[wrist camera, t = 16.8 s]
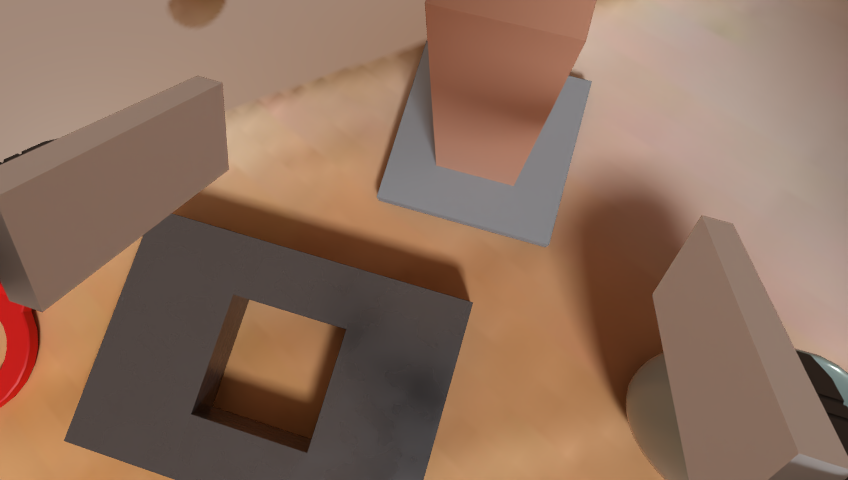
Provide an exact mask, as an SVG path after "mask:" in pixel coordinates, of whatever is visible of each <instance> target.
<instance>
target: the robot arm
mask: <svg viewBox="0 0 848 480" xmlns="http://www.w3.org/2000/svg"><path fill="white" fill-rule="evenodd" d="M223 98H224V97H223V84H222V82H218V81H214V80H211V79H207V78H204V77H200V76H196V77H193V78H191V79H189V80H187V81H185V82H183V83H180V84H178V85H176V86H174V87H171V88H169V89H167V90H165V91H162V92H160V93H158V94H156V95H154V96H151V97H149V98H147V99H145V100H143V101H140V102H138V103H136V104H134V105H131V106H129V107H127V108H125V109H123V110H121V111H118V112H116V113H114V114H112V115H109V116H107V117H105V118H103V119H101V120H98V121H96V122H94V123H92V124H90V125H87V126H85V127H83V128H81V129H79V130H76V131H74V132H72V133H70V134H67V135H65V136H63V137H61V138H58V139H55V140H50V141H45V142H42V143H40V144H38V145H36V146H33V147H31V148H29V149H27V150H24V151H22V154H21V155H20V154H15V155H13V156H11V157H9V158H6V159H4V162H3V163H1V162H0V282H1V284H2V286H3V288H4V290H5V293H6V295H7V297H8V299H9V301H11V302H14V303H17V304H20V305H23V306H26V307H29V308H32V309H35V310H37V311H40V312H43V311H45V310H46V309H47V308H49V307H50V306H51V305H52V304H54V303H55V302H56V301H58V300H59V299H60V298H62V297H63V296H64V295H66V294H67V293H68V292H69V291H71V290H72V289H73V288H75V287H76V286H77V285H79V284H80V283H81V282H83V281H84V280H85V279H86V278H88V277H89V276H90V275H92V274H93V273H94V272H96V271H97V270H98V269H99V268H101V267H102V266H103V265H105V264H106V263H107V262H109V261H110V260H111V259H113V258H114V257H115V256H116V255H118V254H119V253H120V252H122V251H123V250H124V249H126V248H127V247H128V246H130V245H131V244H132V243H133V242H135V241H136V240H137V239H139V238H140V237H141V236H143V235H144V234H145V233H147V232H148V231H149V230H150V229H152V228H153V227H154V226H156V225H157V224H158V223H160V222H161V221H162V220H164V219H165V218H166V217H167V216H169V215H170V214H171V213H173V212H174V211H175V210H177V209H178V208H179V207H181V206H182V205H183V204H184V203H186V202H187V201H188V200H190V199H191V198H192V197H194V196H195V195H196V194H198V193H199V192H200V191H201V190H203V189H204V188H205V187H207V186H208V185H209V184H211V183H212V182H213V181H215V180H216V179H217V178H218V177H220V176H221V175H222V174H224V173H225V172H226V171H228V170H229V165H228V152H227V138H226V125H225V111H224V99H223ZM652 297H653V302H654V307H655V312H656V317H657V322H658V327H659V332H660V337H661V342H662V347H663V352H664V357H665V362H666V367H667V372H668V377H669V382H670V388H671V393H672V398H673V403H674V408H675V413H676V418H677V423H678V428H679V433H680V438H681V443H682V448H683V453H684V458H685V463H686V468H687V474H688V479H689V480H848V407H847V406H845V405H844V404H843V403H844V400H843V398H842V396H841V394H840V392H839V390H838V389H837V387H836V385H835V383H834V381H833V379H832V378H831V377H830V376H829V374H828V373H827V372H826V371H825V370H824V369H823V368H822V367H821V366H820V365H819V364H818V363H817V362H816V360H815V359H814V358H813V357H812V356H811V355H809V354H806V353H803V352H799V351H796V350H795V348H794V346H793V344H792V342H791V340H790V338H789V336H788V334H787V332H786V330H785V328H784V326H783V324H782V322H781V320H780V318H779V316H778V314H777V312H776V310H775V308H774V306H773V304H772V302H771V300H770V298H769V296H768V294H767V292H766V290H765V288H764V286H763V284H762V282H761V280H760V278H759V276H758V274H757V272H756V270H755V268H754V265H753V263H752V261H751V259H750V257H749V255H748V253H747V251H746V249H745V247H744V245H743V243H742V241H741V239H740V237H739V235H738V233H737V231H736V229H735V227H734V225H733V224H732V223H728V222H725V221H721V220H717V219H714V218H710V217H706V216H703V215H702V216H701V217H700V219H699V220H698V222H697V224H696V225H695V227H694V228H693V230H692V232H691V233H690V235H689V236H688V238H687V240H686V241H685V243H684V244H683V246H682V248H681V249H680V251H679V252H678V254H677V256H676V257H675V259H674V260H673V262H672V264H671V265H670V267H669V268H668V270H667V272H666V273H665V275H664V276H663V278H662V280H661V281H660V283H659V284H658V286H657V288H656V289H655V291H654V292H653V294H652Z"/></svg>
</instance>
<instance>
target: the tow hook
mask: <svg viewBox="0 0 848 480" xmlns="http://www.w3.org/2000/svg"><path fill="white" fill-rule="evenodd" d="M31 310H32V308H29V307H26V306H23V305H20V304H17V303H14V302H11V301H9V299H8V297H7V295H6V293H5V290H4V288H3V286H2V284H1V282H0V322H1V323H2V325H3V327H4V330H5V333H6V337H7V351H6V356H5V360H4V362H3V364H2V367H1V369H0V407H2V406H3V405H4V404H6V403H7V402H8V401H10V400H11V399H12V398H13V397H15V396H16V395H17V393H18V392H19V391H20V390H21V388H22V387H23V386H24V384H25V383H26V382H27V380H28V378H29V376H30V374H31V371H32V369H33V367H34V365H35V360H36V355H37V350H38V336H37V327H36V324H35V321H34V318H33V314H32V312H31Z"/></svg>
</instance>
